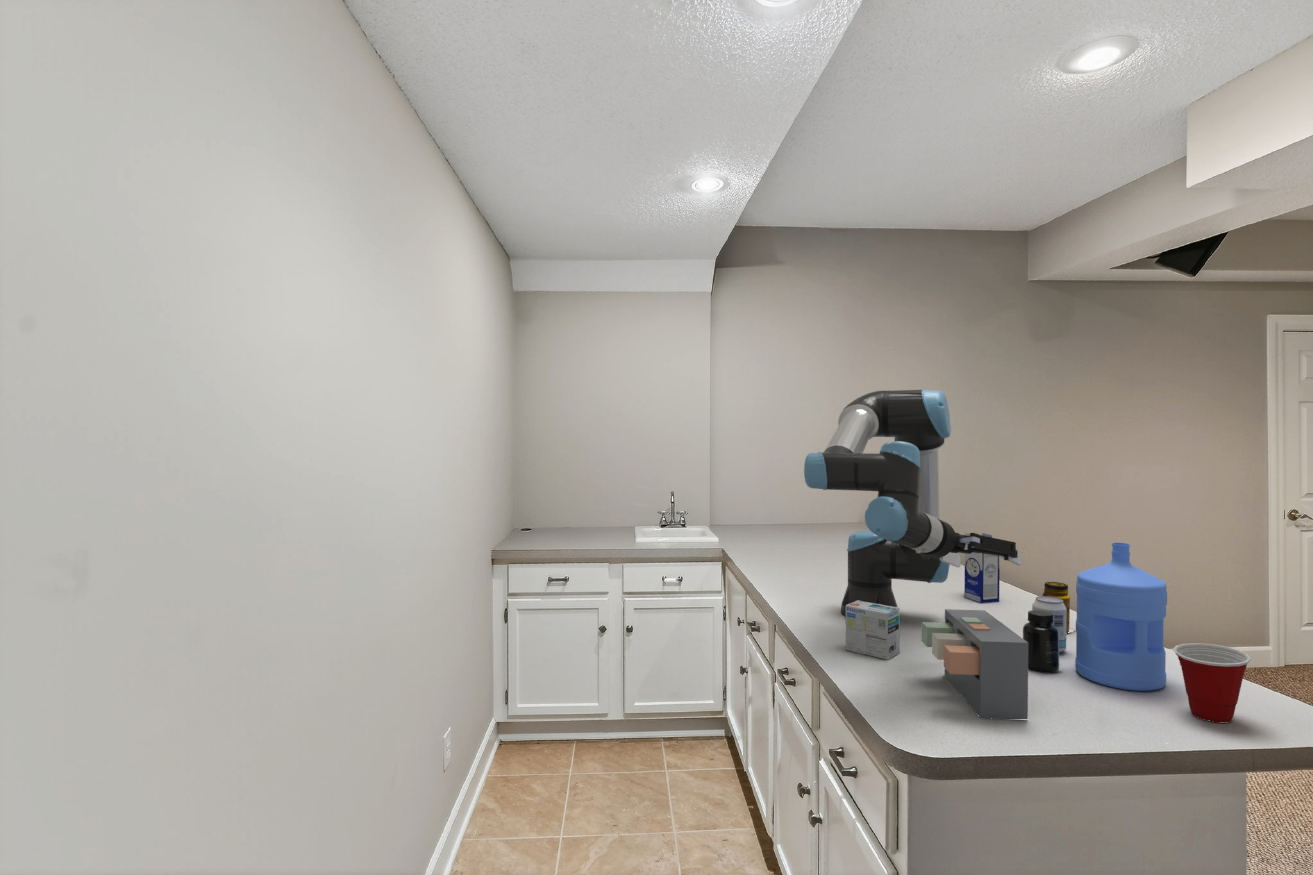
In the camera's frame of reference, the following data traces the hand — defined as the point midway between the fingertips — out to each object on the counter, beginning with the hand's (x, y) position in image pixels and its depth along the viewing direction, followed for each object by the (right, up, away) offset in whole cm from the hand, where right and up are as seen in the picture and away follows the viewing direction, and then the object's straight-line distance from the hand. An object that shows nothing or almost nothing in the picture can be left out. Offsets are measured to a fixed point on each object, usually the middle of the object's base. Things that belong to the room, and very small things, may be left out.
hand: (988, 559), depth 145 cm
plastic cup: (+29, -24, -23) cm, 44 cm away
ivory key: (-13, -17, -13) cm, 25 cm away
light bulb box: (-21, -24, +13) cm, 34 cm away
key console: (-8, -24, -13) cm, 28 cm away
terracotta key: (-14, -17, -20) cm, 30 cm away
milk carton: (+27, -23, +59) cm, 68 cm away
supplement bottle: (+12, -24, +2) cm, 27 cm away
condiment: (+31, -23, +28) cm, 48 cm away
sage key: (-12, -16, -5) cm, 21 cm away
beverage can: (+21, -24, +13) cm, 34 cm away
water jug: (+25, -24, -4) cm, 35 cm away
